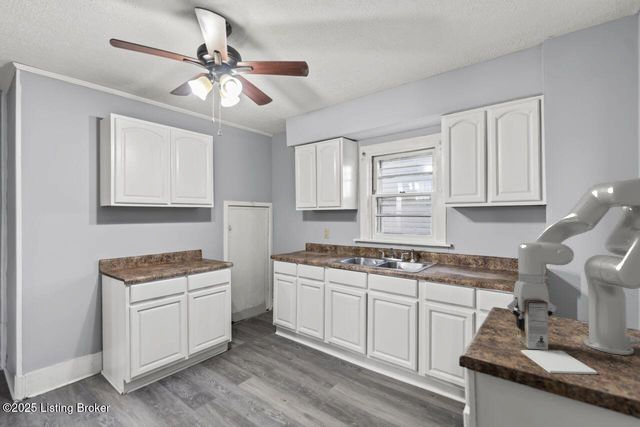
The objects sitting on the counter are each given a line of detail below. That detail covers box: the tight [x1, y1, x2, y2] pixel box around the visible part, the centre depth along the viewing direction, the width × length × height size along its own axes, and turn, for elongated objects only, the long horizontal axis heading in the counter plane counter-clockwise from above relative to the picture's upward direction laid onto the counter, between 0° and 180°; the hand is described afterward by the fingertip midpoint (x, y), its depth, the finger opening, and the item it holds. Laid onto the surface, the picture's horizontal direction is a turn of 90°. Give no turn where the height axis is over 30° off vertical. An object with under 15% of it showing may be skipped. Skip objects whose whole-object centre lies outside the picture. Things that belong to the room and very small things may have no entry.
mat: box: [520, 349, 598, 375], centre depth 95 cm, size 13×14×1 cm
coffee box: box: [516, 300, 549, 350], centre depth 107 cm, size 9×6×16 cm
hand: (531, 329), depth 107 cm, fingers closed on coffee box, 6 cm apart
